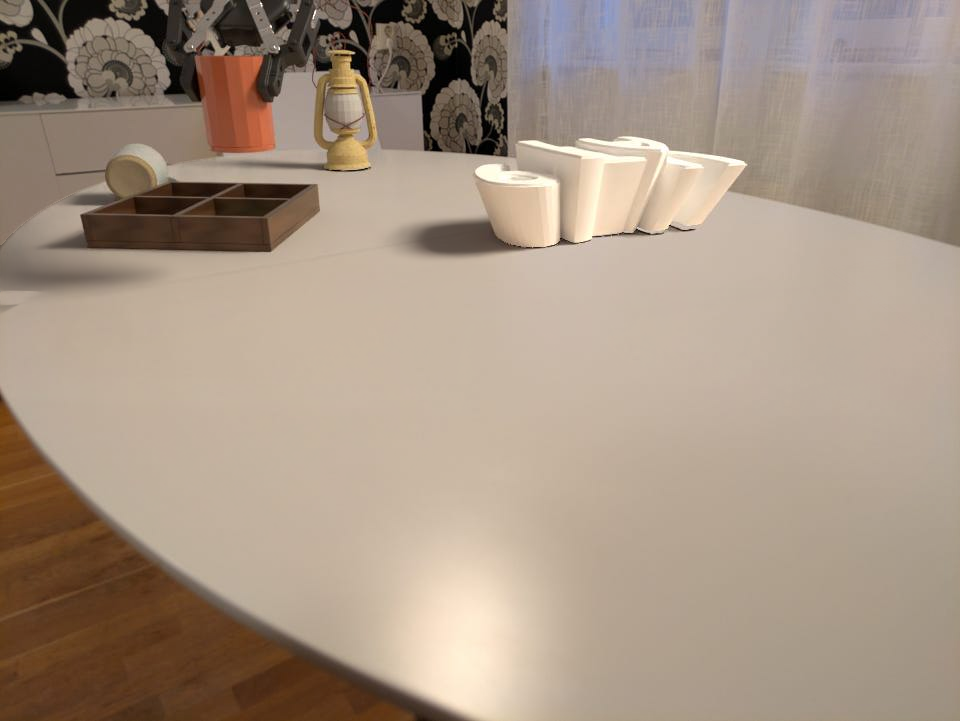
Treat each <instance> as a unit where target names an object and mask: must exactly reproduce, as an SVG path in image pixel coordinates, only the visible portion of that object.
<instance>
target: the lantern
mask: <svg viewBox="0 0 960 721" xmlns="http://www.w3.org/2000/svg"><path fill="white" fill-rule="evenodd" d="M331 1H332V0H328V1H327V2H325V3H323V4H321V5H319V6H318V7H316V10H317V11H318V10H319V9H320V8H322V7H324V6H326V5H328V4H329V3H330V2H331ZM340 2H341V3H343V4H344V5H346V6H348V7H350V8H352V9H355V10H356V11H357V10H358V11H359V12H360V13H363V14H364V15H365V16H366V17H367V19H368V22H369V27H370V34H371V36H370V43H369V46H368V50H367V54H366V65H367V70H368V77H369V83H367V80H366V78H364V77H363V76H362V75H361V74H358V73H355V69H354V68H351V62H352V55H356V52H355V51H351V50H347V49H346V47H344V48H342V47H341V46H339V47H338V48H336V47H335V42H334V38H335V36H336V35H337V34H340V35H341V36H342V37H343V38H344V45H346V42H347V40H346V39H347V38H346V36H344V34H343V33H341V32H340V31H336V32H335V33H334V34H333V35H332V38H331V39H332V46H333V48H334V49H333V50H329V51H325V54H326V55H329V59H330V60H329V61H330V62H331V66H332V68H328V73H325V74H322V75H321V76H320V77H319V78H318V80H317V82H316V84H315V81H314V73H315V70H316V66H317V61H316V60H317V59H316V56H315V55H316V54H315V47H314V45H313V47H312V53H313V54H312V55H313V59H314V65H313V69H312V74H311V81H312V84H313V86H314V88H315V90H316V93H315V101H314V102H315V103H314V115H313V138H314V141H315V143H316V144H317V145H318V146H319V147H320V148H321V149H323V150H327V151H326V163H325V164H324V165H323V168H324V169H325V170H326V169H331V170H345V169H357V168H364V167H368V166H370V165H372V164H371V163H370V162H369V161H368V160H369V158H368V152H367V150H368V149H370V148H372V147H373V146H374V145H375V144H376V141H377V138H378V131H377V124H376V118H375V113H374V108H373V104H372V99H371V95H370V90H369V87H370V85H371V83H372V77H371V76H372V75H371V71H370V67H369V53H370V50H371V47H372V43H373V26H372V22H371V19H370V17H369V15H368V14H367V13H366V12H364V11H363V10H362V9H360V8H357V7H355V6H353V5H351V4H349V3H347V2H345V1H344V0H340ZM326 89H327V90H326ZM358 89H359V90H358ZM359 93H360V95H359ZM324 117H325V122H326V124H327V125H328V128H329V129H330V132H331V133H334V134H336V135H337V137H336V139H335V140H334V141H330V140H326V139H325V138H324V136H323V135H324V134H323V132H324V131H323V130H324V129H323V128H324ZM364 117H365V121H366V127H367V130H368V131H367V132H368V137H367V138H366V139H365V140H357V139H356V137H355V134H357V133H359V132H360V131H361V127H362V126H361V125H362V123H363V118H364Z"/></svg>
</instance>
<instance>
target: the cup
mask: <svg viewBox="0 0 960 721" xmlns="http://www.w3.org/2000/svg"><path fill="white" fill-rule="evenodd" d="M262 61H263V55H223V56H214V55H200V56H195V62H196V69H197V75H198V82H199V89H200V95H201V107H202V114H203V121H204V127H205V133H206V134H205V135H206V141H207V146H208V150H209V151H210V152H213V153H223V154H249V153H250V154H251V153H261V152H268V151H272V150H275V149H276V148H277V147H276V136H275V135H276V134H275V127H274V116H273V109H272V103H265V102H264V101H263V99H262V97H261V95H260V93H259V91H258V79H259V74H260V69H261V64H262Z"/></svg>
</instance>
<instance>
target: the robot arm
mask: <svg viewBox="0 0 960 721" xmlns="http://www.w3.org/2000/svg"><path fill="white" fill-rule="evenodd" d="M316 9H317V7H316V4H315V1H314V0H301V2H300V4H297V3H292V0H199V2H195V3H184V1H183V0H169V2H168V10H167V11H168V13H167V23H166V32H165V45H166V46H167V48H168V49H169V50H170V52H171V54H172V55H173V58H174V60H175V62H176V64H177V65H178V66H179V67H182V68H181V72H180V76H179V84H180V86H181V88H182V89H183V91H184V93H185V94H186V96H188V98H189V99H190V101H191V102H193V103H200V102H201V95H200V89H199V82H198V75H197V69H196V62H195V56H200V55H214V56H225V54H226V53H227V52H228V51H229V50H230V48H231V47H235V48H236V47H242V46H247V47H251V48H261V46H262V45H263V46H264V47H265V50H266V53H267V54H266V53H265V54H264V53H263V54H262V56H263V61H262V64H261V69H260V74H259V79H258V91H259V93H260V95H261V97H262V99H263V101H264V102H265V103H271V104H272V103H274V100H275V97H279V95H280V94H281V92H282V87H283V81H284V75H285V72H286V71H287V70H288V68H289V67H292V66H295V67H296V68H304V67H306V66H307V64H308V62H309V60H310V56H311V53H312V51H313V46H314V45H315V42H316V38H317V36H318V32H319V29H320V27H321V20H320V16H319V14H318V10H316ZM291 21H292V22H293V24H292V26H291V29H290V32H289V35H288V38H287V40H286V43H283V44H279V42H278V39H277V37H276V35H277V34H279V33H280V31H282V30H283V29H284V28H285V27H287V25H288V24H289V23H290V22H291ZM193 32H194V33H193ZM202 49H203V50H202ZM201 50H202V51H201ZM201 103H202V102H201Z"/></svg>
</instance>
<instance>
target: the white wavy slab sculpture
mask: <svg viewBox="0 0 960 721" xmlns="http://www.w3.org/2000/svg"><path fill="white" fill-rule="evenodd" d="M514 145H515V146H514V148H515V157H516V167H517V170H511V168H510V165H508V164H507V165H506V163H488V164H483V165H480V166H478V167H477V168H476V169H475V170H474V171H473V172H472V177H473V180H474V183H475V186H476V188H477V190H478V192H479V196H480V199H481V200H482V203H483V206H484V209H485V212H486V214H487V217H488V219H489V222H490V225H491V227H492V230H493V233H494V235H495V237H496V238H497V239H499V240H500V239H501V240H502V241H501V240H500V241H501V242H503V241H504V242H503V243H505V242H506V243H505V244H507V243H508V244H507V245H510V244H511V245H510V246H513V245H516V246H515V247H518V246H521V247H520V248H526V247H532V248H531V249H534V248H533V247H546V246H550V245H554V244H556V243H558V242H559V241H560V242H561V239H560V238H563V239H566V240H569V241H572V242H583V241H587V240H590V239H592V240H593V237H592V236H596V235H603V234H610V233H617V232H622V231H623V230H624V231H634V230H636V229H637V227H639V228H642V229H644V230H648V231H651V232H653V231H661V230H665V229H667V230H668V229H669V227H670V226H669V225H670V224H671V222H672V221H675V222H679V223H681V224H683V225H685V226H691V225H698V224H701V225H702V223H703V222H704V221H705V219H706V218H708V216H709V214H711V212H712V210H713V209H714V208H715V207H716V205H717V204H718V203H719V202H720V201H721V199H722V198H723V197H724V195H725V194H726V193H727V191H728V190H729V189H730V187H731V186H732V185H733V183H735V181H736V180H737V179H738V177H739V176H740V175H741V174H742V172H743V170H745V169H746V167H747V166H748V163H746V161H743V160H740V159H735V158H731V157H730V158H729V157H726V156H720V155H719V156H718V155H712V154H708V153H707V154H706V153H698V152H691V151H690V152H688V151H680V150H679V151H678V150H669V147H668V146H667V145H666V144H665V143H663V142H660V141H657V140H652V139H649V138H642V137H639V136H638V137H637V136H617V137H616V138H614V139H613V141H606V140H600V139H595V138H591V137H589V138H586V137H585V138H578V139H577V140H575V143H574V146H557V145H554V144H549V143H546V142H543V141H540V140H536V139H535V140H518V141H517V143H514ZM636 231H637V230H636ZM563 239H562V240H563ZM546 248H547V247H546Z"/></svg>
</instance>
